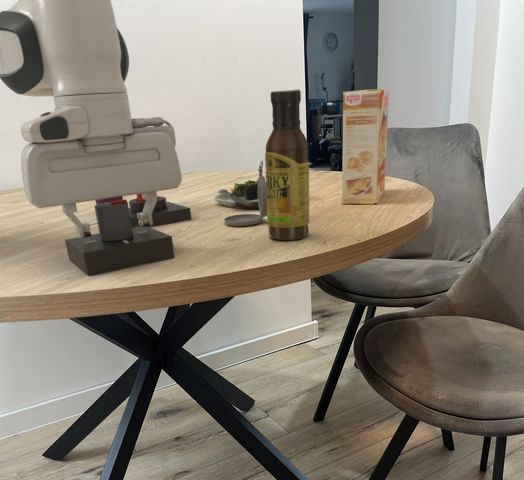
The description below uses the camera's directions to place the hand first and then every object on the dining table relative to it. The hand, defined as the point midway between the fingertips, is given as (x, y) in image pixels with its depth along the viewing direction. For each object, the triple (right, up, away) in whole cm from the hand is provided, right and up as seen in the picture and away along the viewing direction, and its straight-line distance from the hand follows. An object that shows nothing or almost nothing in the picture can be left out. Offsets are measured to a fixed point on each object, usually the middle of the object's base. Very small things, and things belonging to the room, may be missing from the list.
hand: (116, 231), depth 70 cm
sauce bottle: (+24, +1, +7) cm, 25 cm away
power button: (-1, +11, +23) cm, 26 cm away
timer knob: (0, -1, 0) cm, 1 cm away
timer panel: (0, -3, +2) cm, 4 cm away
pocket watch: (+18, +5, +18) cm, 26 cm away
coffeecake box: (+41, +14, +34) cm, 55 cm away
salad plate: (+20, +14, +36) cm, 43 cm away
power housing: (-1, +8, +25) cm, 26 cm away
